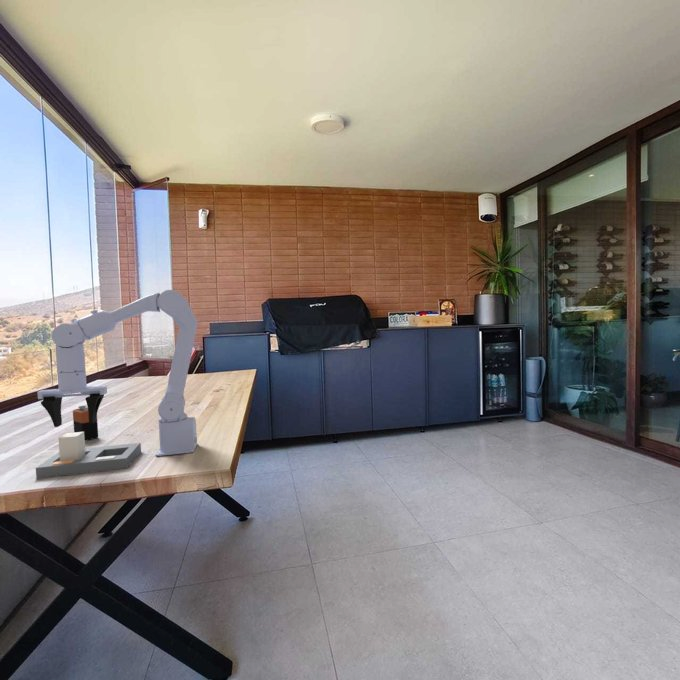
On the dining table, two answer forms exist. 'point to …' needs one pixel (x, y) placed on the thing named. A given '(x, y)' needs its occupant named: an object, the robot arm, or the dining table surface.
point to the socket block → (91, 461)
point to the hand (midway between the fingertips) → (75, 424)
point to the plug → (72, 446)
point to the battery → (84, 423)
